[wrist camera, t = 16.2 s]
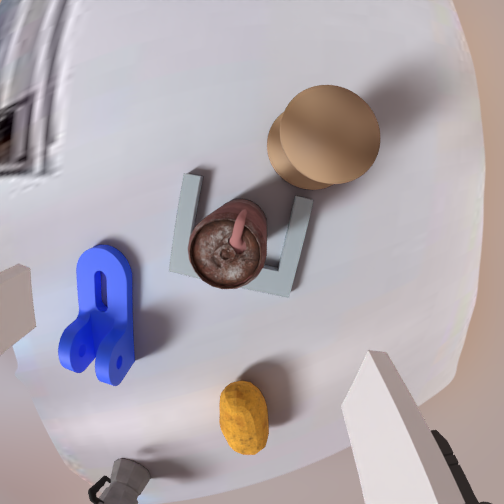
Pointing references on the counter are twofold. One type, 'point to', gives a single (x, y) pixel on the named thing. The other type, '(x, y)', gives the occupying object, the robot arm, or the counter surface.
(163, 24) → the counter surface
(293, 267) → the grey u-shaped frame
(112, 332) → the bracket
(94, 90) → the counter surface
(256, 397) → the potato
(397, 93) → the counter surface
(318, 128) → the bobbin
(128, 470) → the coffeepot
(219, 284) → the can
